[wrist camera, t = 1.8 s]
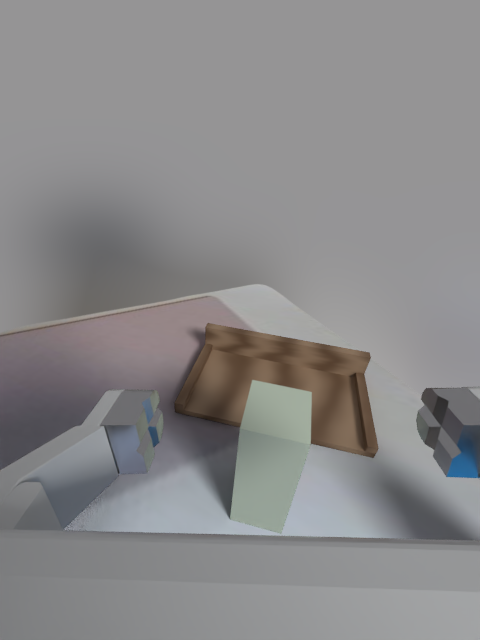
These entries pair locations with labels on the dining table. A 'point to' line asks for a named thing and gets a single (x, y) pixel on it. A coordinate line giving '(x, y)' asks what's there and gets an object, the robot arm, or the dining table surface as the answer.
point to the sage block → (270, 454)
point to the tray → (283, 384)
